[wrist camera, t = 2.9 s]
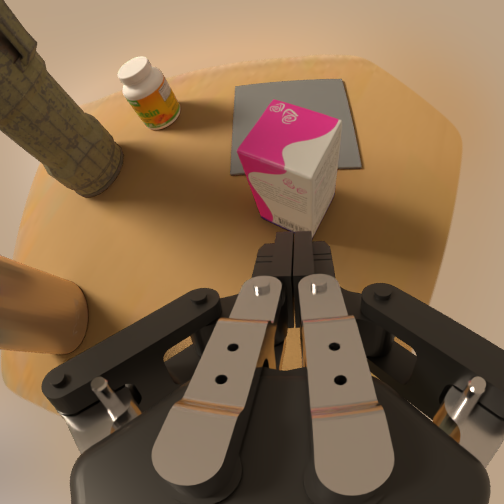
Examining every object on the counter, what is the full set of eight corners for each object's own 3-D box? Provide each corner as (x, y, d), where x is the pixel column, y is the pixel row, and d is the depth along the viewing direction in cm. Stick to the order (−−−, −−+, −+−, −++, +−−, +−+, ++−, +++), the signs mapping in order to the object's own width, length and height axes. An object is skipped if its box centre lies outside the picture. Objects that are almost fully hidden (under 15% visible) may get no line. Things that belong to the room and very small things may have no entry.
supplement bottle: (140, 132, 38) (104, 86, 28) (152, 103, 39) (122, 57, 30) (175, 129, 36) (143, 78, 27) (186, 99, 38) (159, 48, 29)
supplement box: (336, 192, 30) (345, 119, 19) (311, 242, 29) (311, 184, 18) (285, 171, 32) (272, 95, 21) (258, 217, 31) (231, 153, 20)
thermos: (133, 182, 35) (-66, -30, 2) (63, 208, 37) (-125, 67, 3) (135, 129, 38) (-10, -63, 5) (70, 158, 39) (-79, 15, 6)
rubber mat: (230, 175, 33) (230, 174, 33) (235, 88, 37) (235, 86, 36) (361, 168, 30) (361, 166, 30) (341, 80, 34) (341, 79, 34)
